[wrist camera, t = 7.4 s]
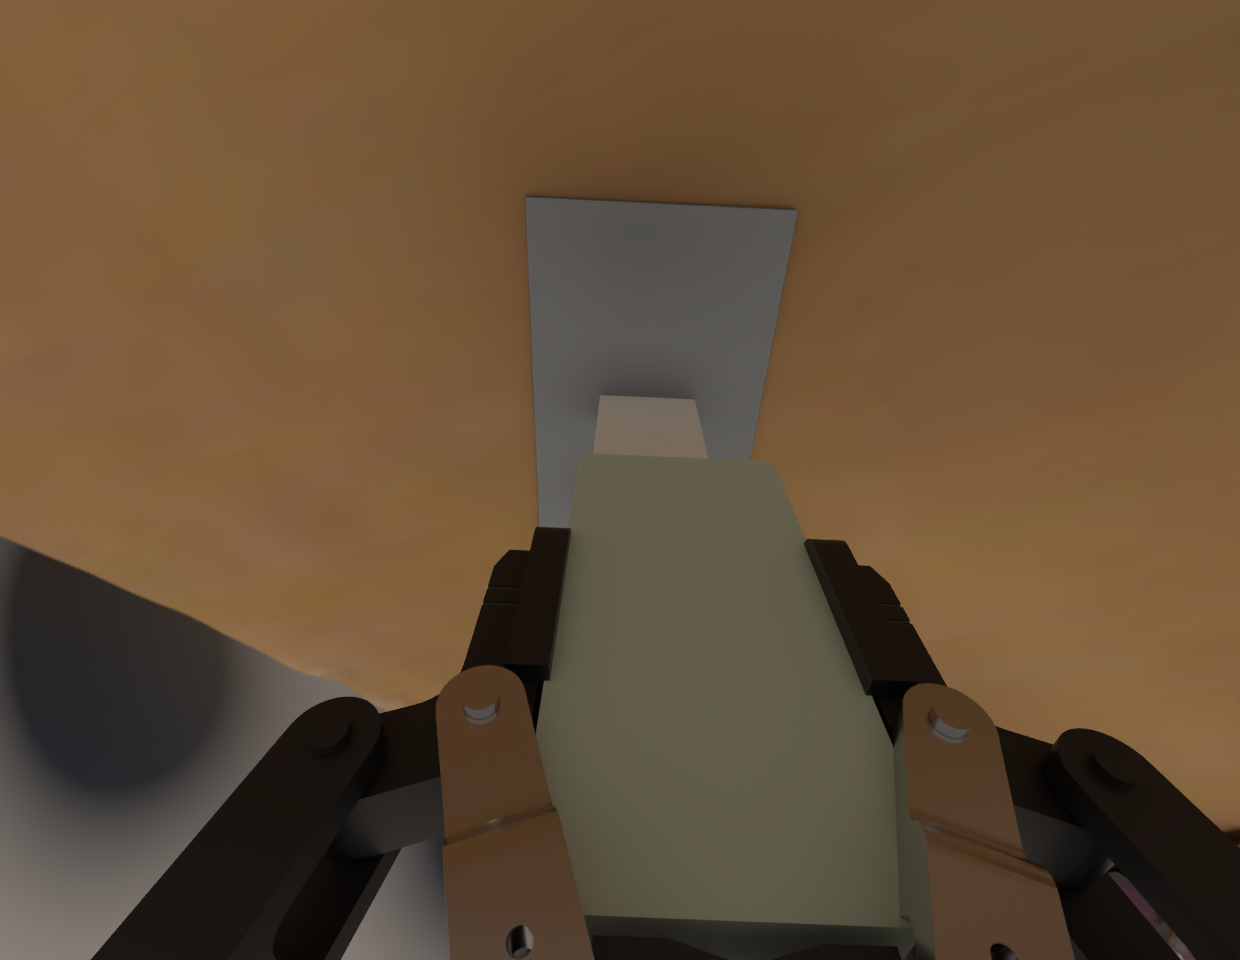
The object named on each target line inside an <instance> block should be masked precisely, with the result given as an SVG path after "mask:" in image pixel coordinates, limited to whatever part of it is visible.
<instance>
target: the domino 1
mask: <svg viewBox="0 0 1240 960" xmlns="http://www.w3.org/2000/svg"><path fill="white" fill-rule="evenodd" d="M593 453H595V454H616V455H637V456H659V457H680V458H702V459H708V455H707V450H706V446H705V442H704V437H703V433H702V429H701V424H700V420H699V415H698V411H697V407H696V402H695V399H677V398H655V397H633V396H612V395H600V400H599V408H598V417H597V425H596V434H595V443H594V451H593Z"/></svg>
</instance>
